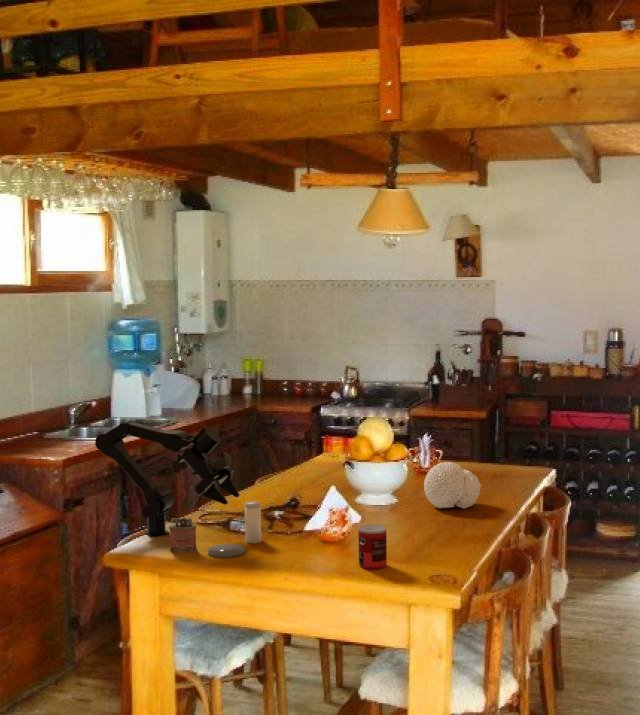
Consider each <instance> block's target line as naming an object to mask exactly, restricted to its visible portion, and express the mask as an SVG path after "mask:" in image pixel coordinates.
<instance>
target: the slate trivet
mask: <svg viewBox="0 0 640 715" xmlns="http://www.w3.org/2000/svg"><path fill="white" fill-rule="evenodd" d="M207 552H208V553H207V554H208V555H209V556H210V557H214V558H221V559H226V558H236V557H240V556H242V555H244V554H245V553H246V547H245V546H244V545H242V544H237V543H220V544H214V545H212V546H210V547H208V550H207Z"/></svg>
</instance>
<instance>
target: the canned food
mask: <svg viewBox="0 0 640 715" xmlns="http://www.w3.org/2000/svg"><path fill="white" fill-rule="evenodd" d="M357 532H358V564H359V567H360V568H362V569H364V570H374V571H376V570H377V571H378V570H383V569H384V568H386V567H387V552H388V551H387V527H386V526H384V525H381V524H380V525H379V524H363V525H360V526H359V527H358V531H357Z"/></svg>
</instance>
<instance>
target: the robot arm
mask: <svg viewBox="0 0 640 715" xmlns="http://www.w3.org/2000/svg"><path fill="white" fill-rule="evenodd" d="M127 436H131V437H135V438H138V439H143V440H146V441H150V442H153V443H156V444H158V445H161V446H162V447H163V448H165V449H167V450H169V451H171V452H173V453H177V452H179V453H178V454H176V457H177V458H176V463H177V464H180V463H182V462H185V463H186V465H187V466H188V467H189V468H190V469H192V471H193V472H192V475H193V476H194V477H195V476H197V477H198V478H199V479H200V481H199V482H198V483H197V484H196V485H195V486H194V492H195V493H196V494H197V495H198V497H200V496H201V497H205V498H207V499H211V500H213V501H215V502H218V503H220V504H222V505H227V504H228V503H229V502H228V500H227V499H226V497H225V496H224V495H223V493H222V492H221V490H220V489H222V490H223V491H225V492H227V493H228V494H230V495H231V496H232V497H234V498H239V497H240V492H239V491H238V489H237V487H236V485H235V482H234V473H235V470H234V469H233V467H232V466H230V465H233V464H232V456H231V455H230V454H228V453H227V452H223V453H222V454H220V455H219V458H218V459H216V460H213V459H212V458H209V459H208V457H206V455H208V454H210V453H211V451H213V449H214V448H215V447H216V446H217V445H218V444H219V443H220V442H221V440H222V439H221V437H220V435H219V434H218V433H217V432H215V431H214V430H213V429H210V428H209V427H207V426H203V427H202V428H201V429H200V430H199V432H198V433H197V435H192V434H189V433H188V432H187V431H185V430H177V429H171V430H170V429H169V430H166V429H161V428H158V427H154V426H153V427H152V426H149V425H146V424H141V423H138V422H134V421H132V420H129V419H128V420H125V421H122V422H120V423H119V424H118V425H117V426H115V427H114V428H112V429H110V430H108V431H105V432H102V433H100V434H98V435H97V436H96V438H95V441H94V442H95V443H94V444H95V447H96V449H97V450H98V451H99V452H101V454H103V455H104V456H106V457H108V458H111V459H112V460H114V461H115V462H116V463H117V465H118V466H119V467H120V468H121V469H122V471H124V473H126V475H127V476H128V477H129V478H130V479H131V480H132V482H133V483H134V484H135V485H136V486H137V487H138V488H139V489H140V491H141V492H142V494H143V497H144V501H145V503H146V504H147V505H146V506H144V508H143V509H142V510H141V514H142V517H143V518H147V519H146V523H147V524H146V525H147V529H146V530H143V533H144V534H145V535H147V536H148V537H151V538H153V537H157V536H158V537H159V536H164V535H170V530H167V528H166V526H167V525H166V513H168V512H169V511H170V508H171V507H172V506H173V504H174V498H175V497H174V495H173V494H172V492H173V491H172V490H171V489H169V488H168V486H167V485H166V484H165V483H164V482H162V483H159V484H158V483H157V482H155V481H154V480H153V479H152V478H151V477H150V475H149V474H148V473H147V472H146V471H145V469H143V467H142V466H141V465H140V464H139V463H138V462H137V461H136V459H135V458H133V456H132V455H131V454H130V453H129V452H128V451H127V449H126V444H125V442H124V440H123V439H125V438H126V437H127ZM190 446H191V447H190ZM183 450H184V451H183ZM180 451H183V452H182V453H181V452H180ZM218 487H219V488H220V489H219V488H218Z"/></svg>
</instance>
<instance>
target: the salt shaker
mask: <svg viewBox="0 0 640 715" xmlns="http://www.w3.org/2000/svg"><path fill="white" fill-rule="evenodd" d="M243 508H244V537H245V538H244V540H245V541H244V542H245V543H247V544H258V543H261V542H262V511H261V508H262V506H261V503H260V502H259V501H256V500H255V501H253V500H252V501H246V502H245V503H244V507H243Z"/></svg>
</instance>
